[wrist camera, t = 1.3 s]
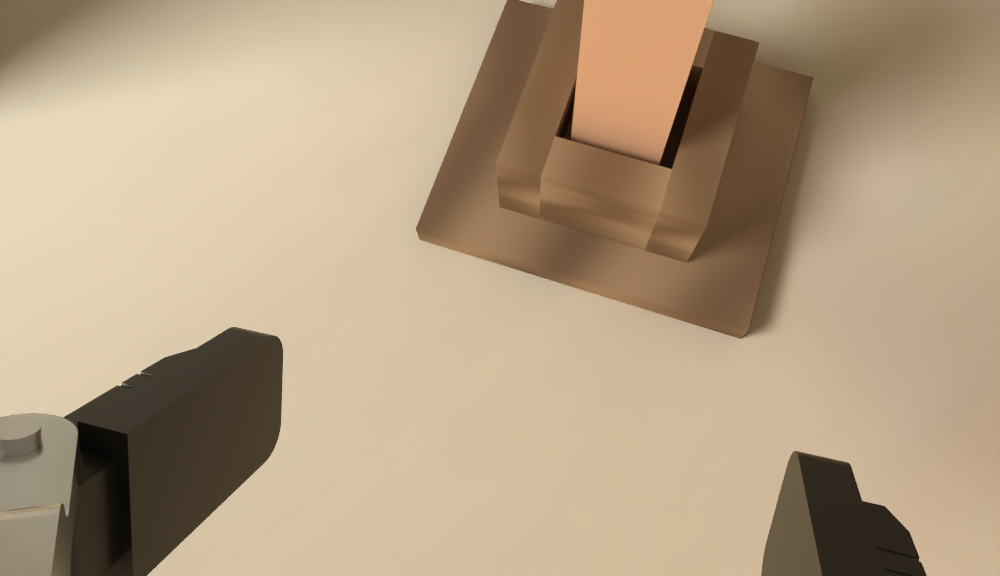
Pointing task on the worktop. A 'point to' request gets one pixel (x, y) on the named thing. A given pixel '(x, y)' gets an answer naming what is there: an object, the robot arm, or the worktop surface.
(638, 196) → the stand
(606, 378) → the worktop surface
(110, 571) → the robot arm
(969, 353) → the worktop surface
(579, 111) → the peg
